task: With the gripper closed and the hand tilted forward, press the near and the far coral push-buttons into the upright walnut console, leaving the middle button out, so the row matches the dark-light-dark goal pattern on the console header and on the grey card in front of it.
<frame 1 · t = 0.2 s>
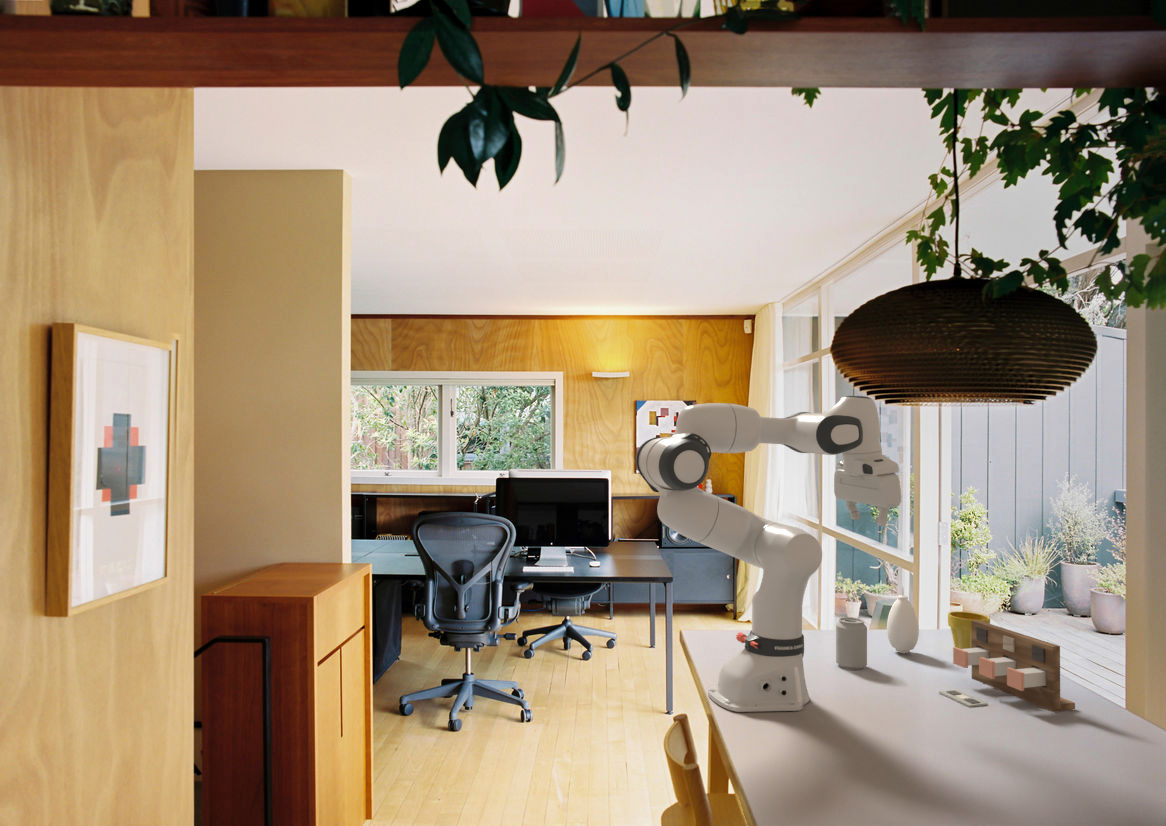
hand: (868, 521, 179), 39 cm above the table, tool pointing down, fingers open, 8 cm apart
button near: (1030, 677, 167), point 7 cm above the table, slide at 0.0 cm
plant pot: (968, 651, 209), on the table
button middle: (1001, 666, 174), point 6 cm above the table, slide at 0.0 cm
button far: (974, 656, 182), point 7 cm above the table, slide at 0.0 cm
console: (1013, 693, 175), on the table
sauce bottle: (902, 653, 207), on the table
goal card: (962, 699, 171), on the table
can: (851, 667, 195), on the table
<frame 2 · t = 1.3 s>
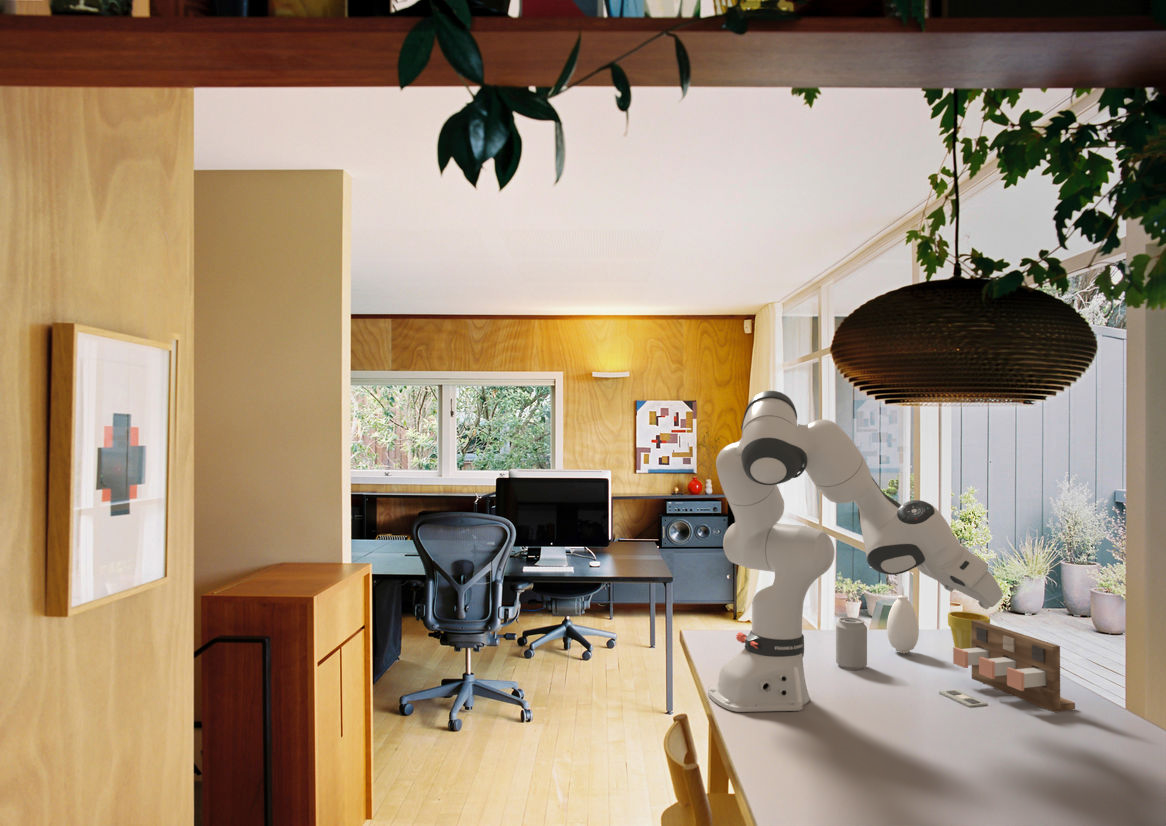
hand: (968, 597, 170), 23 cm above the table, tool tilted 45°, fingers open, 8 cm apart
nothing on the table moved.
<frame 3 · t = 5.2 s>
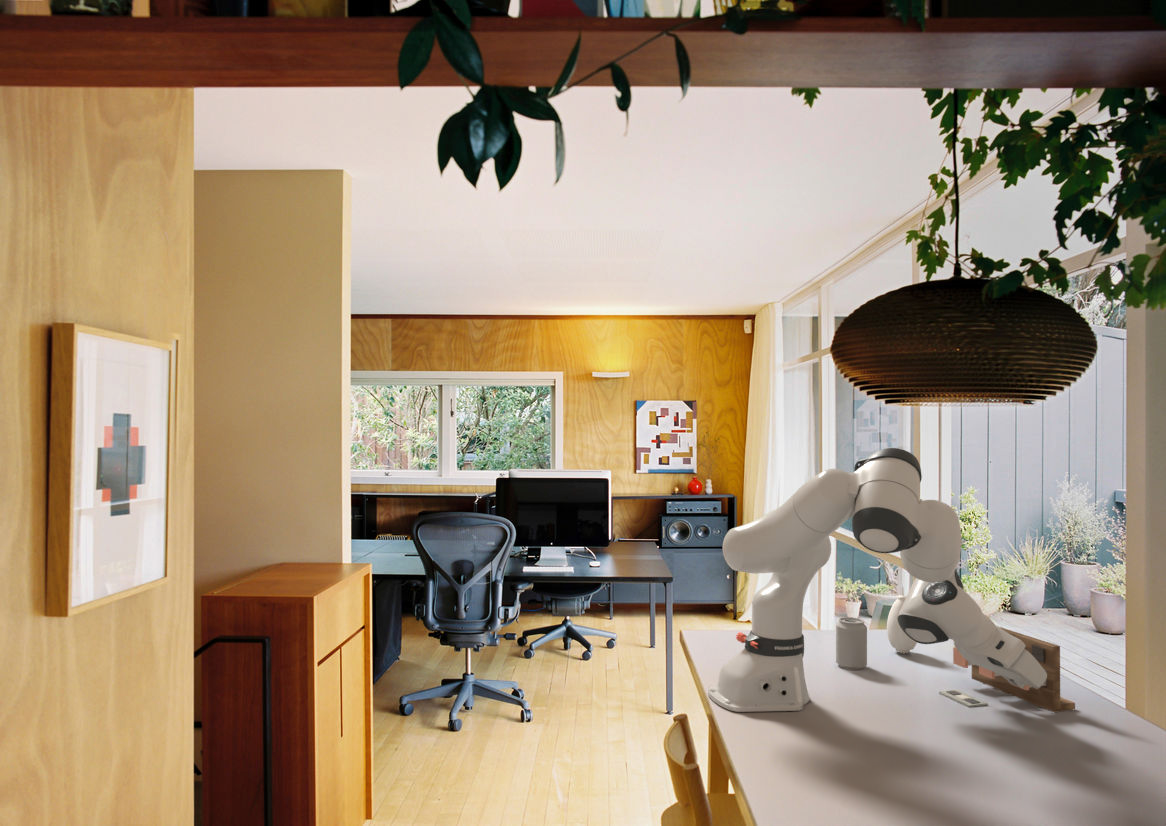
hand: (1019, 683, 165), 6 cm above the table, tool tilted 45°, fingers closed, pressing on button near
button near: (1035, 677, 167), point 6 cm above the table, slide at 1.3 cm, touching gripper
everything else where it was.
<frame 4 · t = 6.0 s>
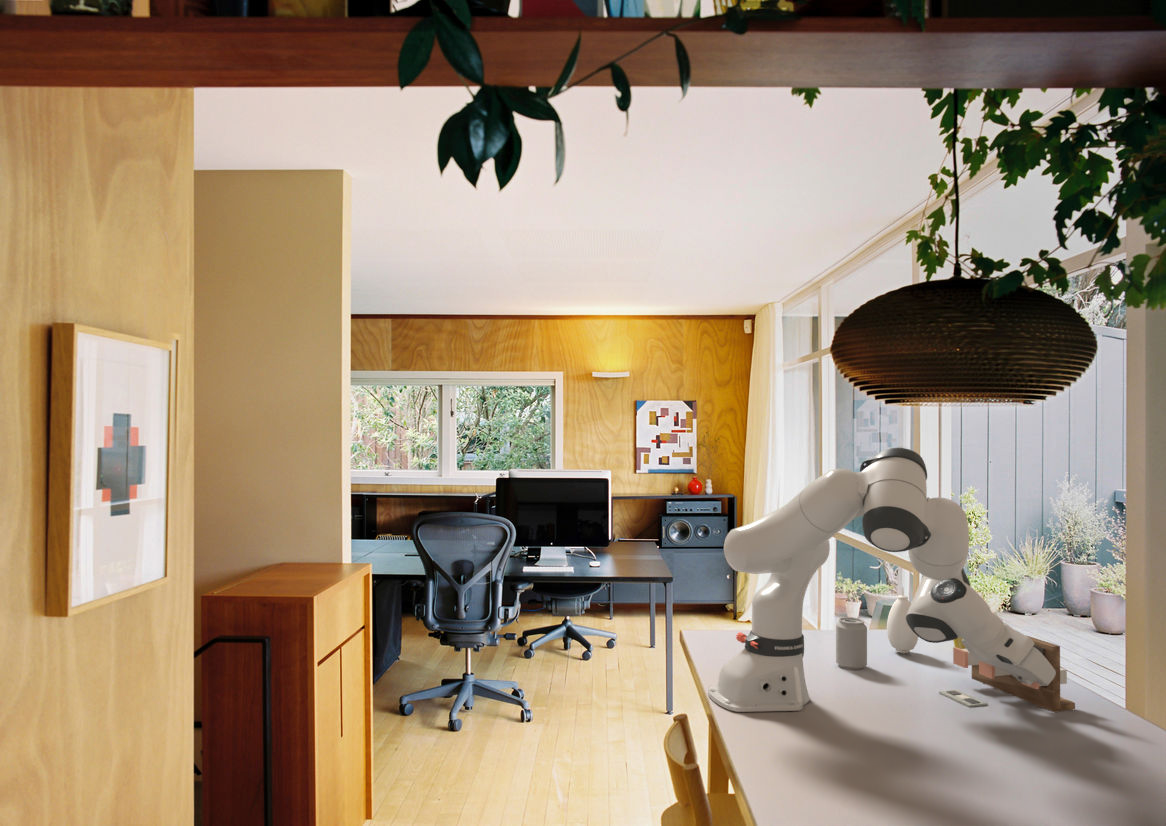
hand: (1027, 681, 166), 6 cm above the table, tool tilted 45°, fingers closed, pressing on button near
button near: (1044, 676, 168), point 7 cm above the table, slide at 4.0 cm, touching gripper
everything else where it was.
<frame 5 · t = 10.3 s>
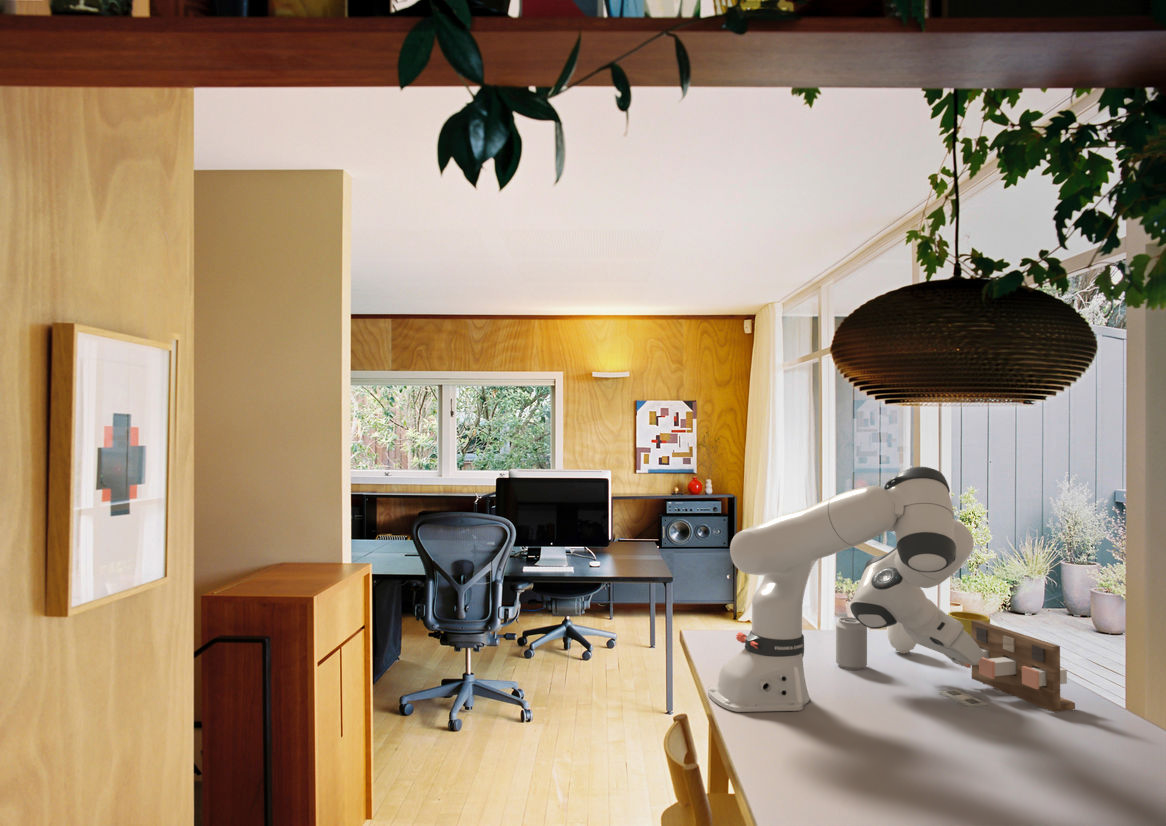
hand: (960, 662, 180), 5 cm above the table, tool tilted 45°, fingers closed, pressing on button far
button near: (1045, 676, 168), point 7 cm above the table, slide at 4.0 cm
button far: (977, 656, 182), point 7 cm above the table, slide at 0.8 cm, touching gripper
everything else where it was.
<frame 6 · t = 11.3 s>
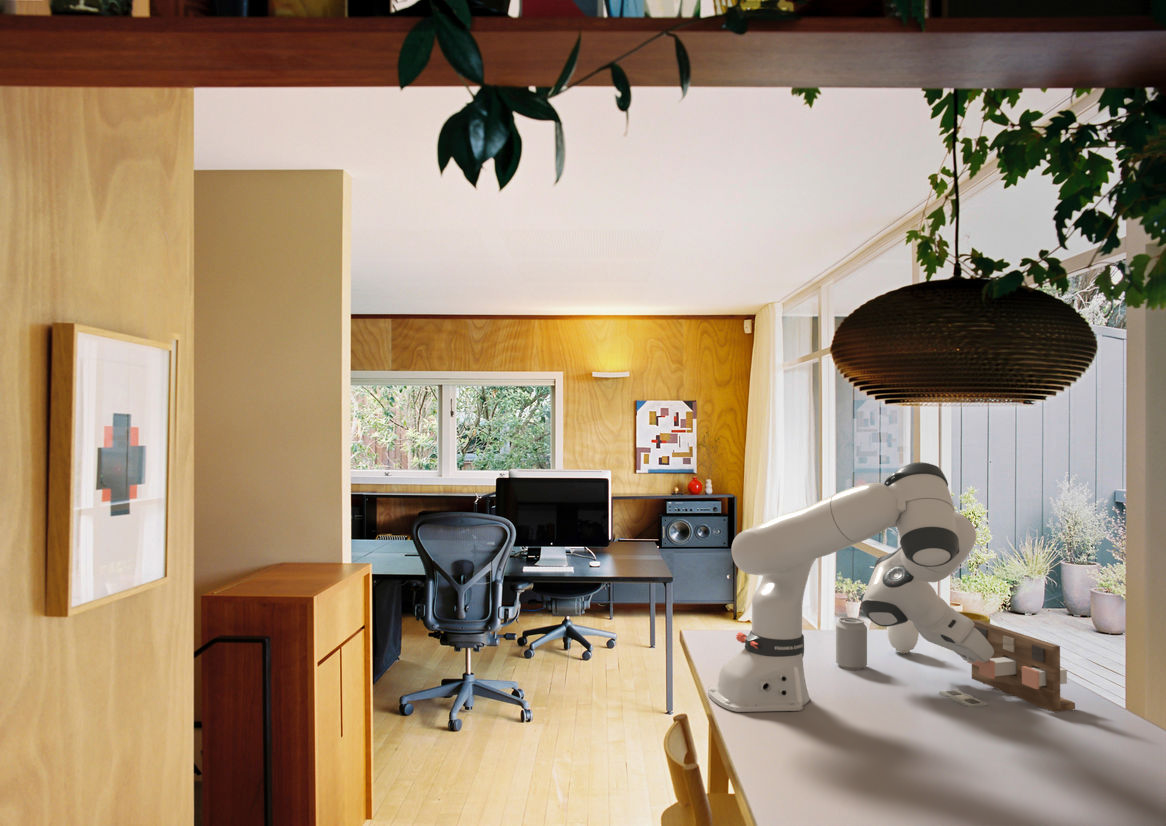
hand: (971, 659, 182), 6 cm above the table, tool tilted 45°, fingers closed, pressing on button far
button far: (988, 655, 183), point 7 cm above the table, slide at 4.0 cm, touching gripper
everything else where it was.
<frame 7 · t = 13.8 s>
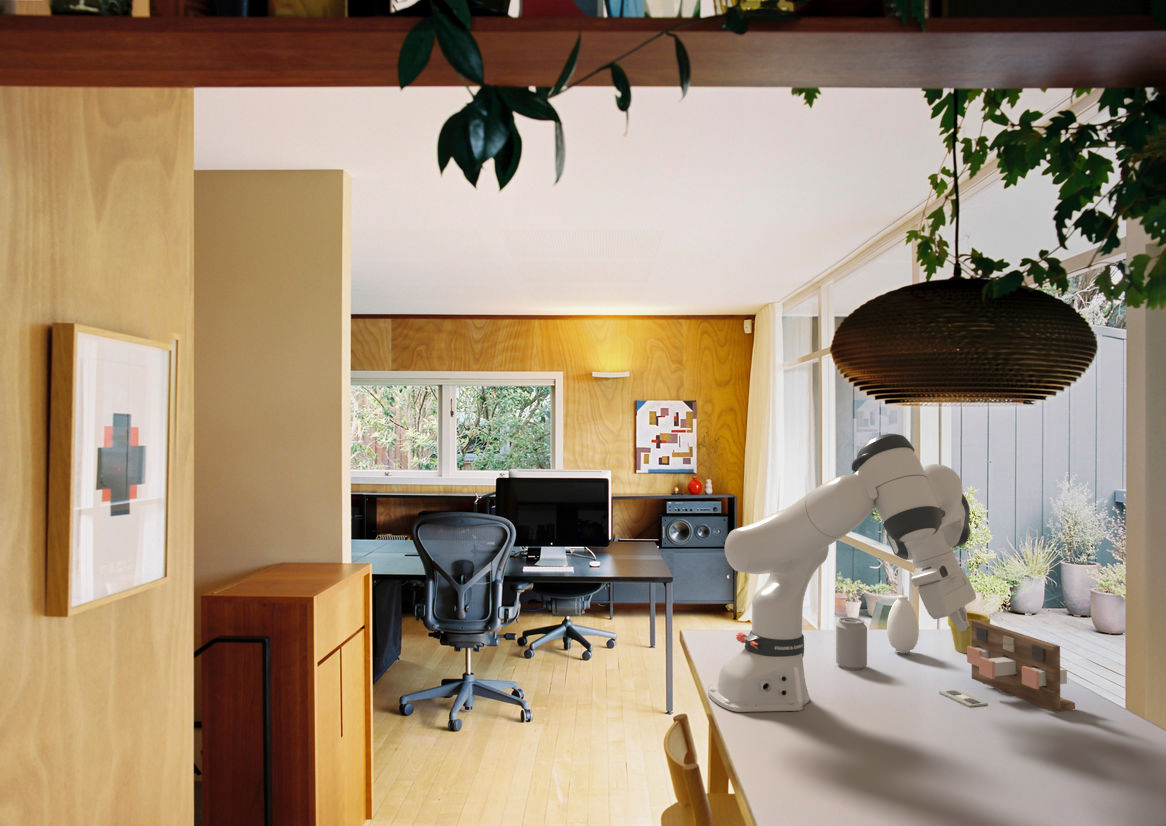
hand: (964, 629, 169), 16 cm above the table, tool tilted 25°, fingers closed
button far: (988, 655, 183), point 7 cm above the table, slide at 4.0 cm
everything else where it was.
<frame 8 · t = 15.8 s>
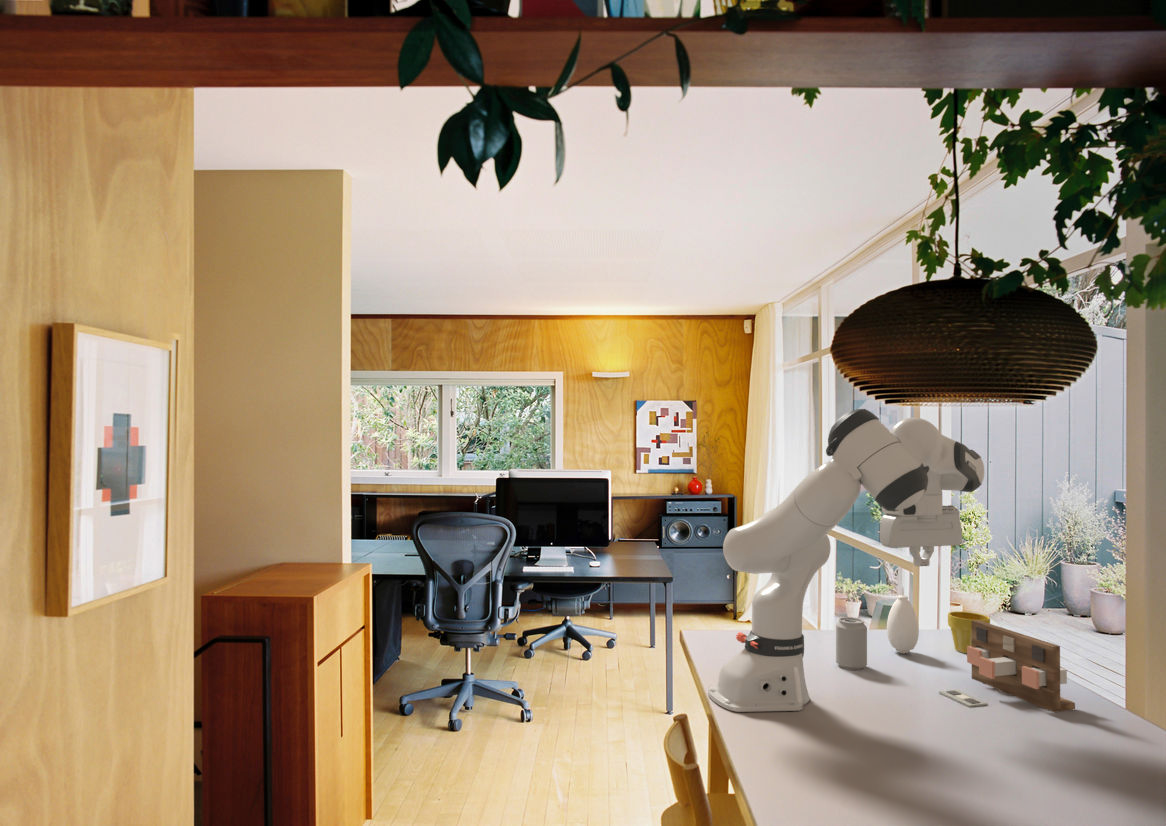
hand: (921, 565, 176), 29 cm above the table, tool pointing down, fingers closed
nothing on the table moved.
at the end: button near slide at 4.0 cm; button far slide at 4.0 cm; button middle slide at 0.0 cm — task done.
